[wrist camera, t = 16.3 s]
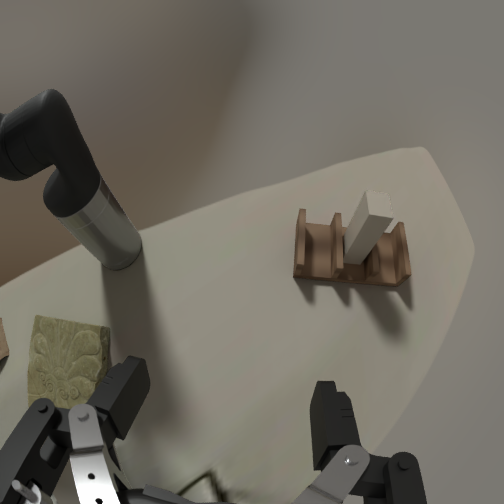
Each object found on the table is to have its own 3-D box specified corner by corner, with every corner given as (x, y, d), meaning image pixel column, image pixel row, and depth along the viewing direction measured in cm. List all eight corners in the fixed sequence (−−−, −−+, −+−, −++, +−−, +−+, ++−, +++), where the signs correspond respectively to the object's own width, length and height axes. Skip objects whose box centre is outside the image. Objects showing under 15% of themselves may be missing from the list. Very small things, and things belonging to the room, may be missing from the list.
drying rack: (397, 286, 42) (411, 274, 38) (293, 277, 44) (297, 264, 39) (392, 237, 47) (403, 222, 42) (296, 225, 48) (299, 208, 44)
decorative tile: (36, 411, 32) (24, 410, 29) (43, 316, 41) (32, 311, 38) (110, 438, 32) (99, 441, 28) (114, 327, 41) (104, 322, 38)
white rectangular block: (360, 264, 43) (393, 218, 31) (340, 262, 44) (369, 214, 31) (359, 243, 45) (388, 193, 33) (340, 241, 45) (365, 189, 33)
